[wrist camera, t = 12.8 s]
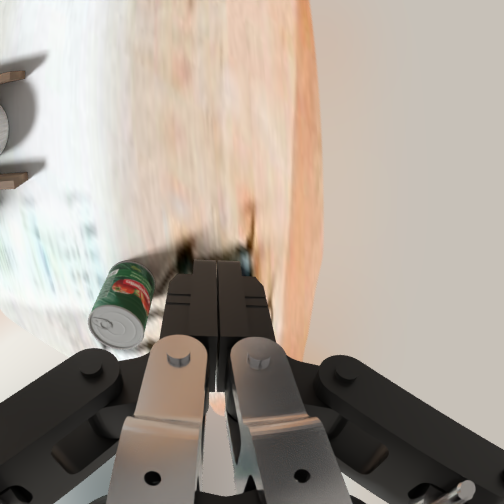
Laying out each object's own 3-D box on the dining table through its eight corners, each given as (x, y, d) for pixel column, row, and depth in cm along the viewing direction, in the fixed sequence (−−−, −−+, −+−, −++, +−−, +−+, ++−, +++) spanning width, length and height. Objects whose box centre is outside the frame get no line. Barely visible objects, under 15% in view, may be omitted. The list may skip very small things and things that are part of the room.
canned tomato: (161, 270, 47) (150, 318, 38) (148, 307, 51) (137, 356, 41) (113, 253, 45) (91, 297, 36) (104, 292, 48) (85, 338, 39)
